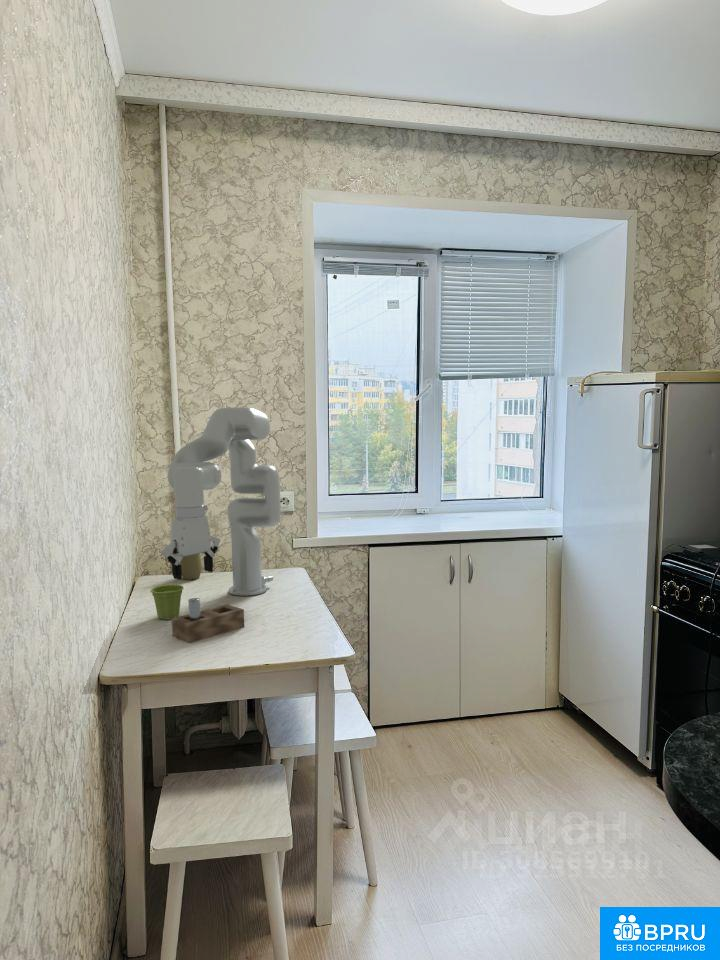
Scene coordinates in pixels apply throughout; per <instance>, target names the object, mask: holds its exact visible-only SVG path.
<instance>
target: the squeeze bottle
mask: <svg viewBox="0 0 720 960" xmlns="http://www.w3.org/2000/svg"><path fill="white" fill-rule="evenodd" d="M179 565H181V569H182V579H183V580H186V579H187V581H192V579H193V580H197V579H199V578H200V577H201V574H202V570H203V565H202V558H201V553H200V554H195V555H191V556H186V557H183V558H182V560H181V561H180V563H179Z"/></svg>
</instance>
